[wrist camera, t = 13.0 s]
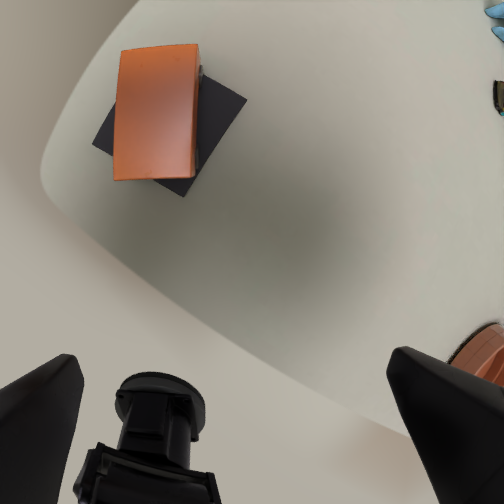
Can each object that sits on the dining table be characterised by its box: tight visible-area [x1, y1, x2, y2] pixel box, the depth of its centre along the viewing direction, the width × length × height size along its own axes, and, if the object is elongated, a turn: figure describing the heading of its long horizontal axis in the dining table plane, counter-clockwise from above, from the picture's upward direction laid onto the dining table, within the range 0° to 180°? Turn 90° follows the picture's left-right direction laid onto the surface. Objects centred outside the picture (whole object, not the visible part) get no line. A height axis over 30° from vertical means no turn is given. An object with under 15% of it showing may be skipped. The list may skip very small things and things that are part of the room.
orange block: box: [113, 44, 203, 181], centre depth 14 cm, size 7×4×3 cm, turn 178°
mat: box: [92, 75, 247, 197], centre depth 15 cm, size 7×7×1 cm
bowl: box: [450, 324, 504, 387], centre depth 24 cm, size 13×13×4 cm
